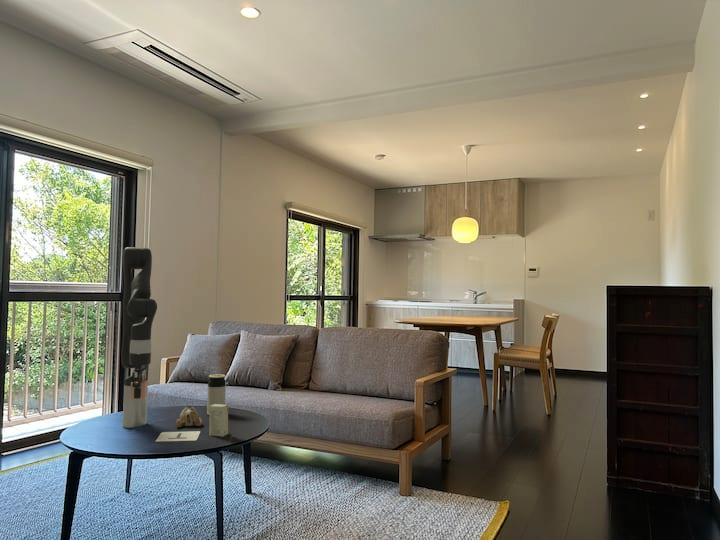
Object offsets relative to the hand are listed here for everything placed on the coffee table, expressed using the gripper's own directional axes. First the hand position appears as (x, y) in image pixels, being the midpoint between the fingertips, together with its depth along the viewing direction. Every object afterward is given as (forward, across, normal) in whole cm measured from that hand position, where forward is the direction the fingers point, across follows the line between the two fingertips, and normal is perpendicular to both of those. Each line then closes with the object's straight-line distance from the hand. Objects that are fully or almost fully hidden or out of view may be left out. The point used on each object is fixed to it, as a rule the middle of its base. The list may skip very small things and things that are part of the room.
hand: (138, 396), depth 199 cm
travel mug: (+18, -43, +26) cm, 53 cm away
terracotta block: (0, 0, 0) cm, 0 cm away
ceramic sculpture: (+18, -24, +16) cm, 34 cm away
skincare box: (+18, -6, +29) cm, 35 cm away
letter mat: (+17, -5, +14) cm, 23 cm away
